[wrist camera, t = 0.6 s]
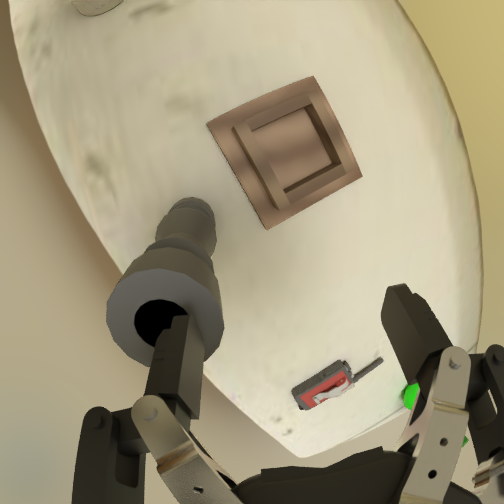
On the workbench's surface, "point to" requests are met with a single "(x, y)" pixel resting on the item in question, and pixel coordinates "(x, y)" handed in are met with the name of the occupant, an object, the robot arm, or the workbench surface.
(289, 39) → the workbench surface
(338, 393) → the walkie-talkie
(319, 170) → the walnut socket base
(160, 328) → the candle holder
